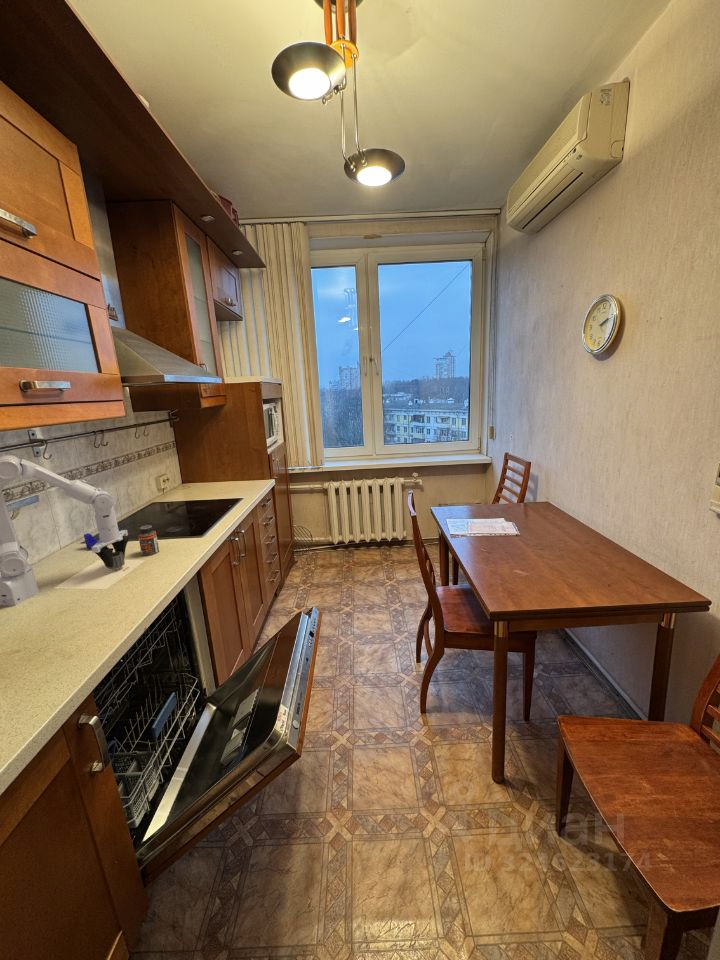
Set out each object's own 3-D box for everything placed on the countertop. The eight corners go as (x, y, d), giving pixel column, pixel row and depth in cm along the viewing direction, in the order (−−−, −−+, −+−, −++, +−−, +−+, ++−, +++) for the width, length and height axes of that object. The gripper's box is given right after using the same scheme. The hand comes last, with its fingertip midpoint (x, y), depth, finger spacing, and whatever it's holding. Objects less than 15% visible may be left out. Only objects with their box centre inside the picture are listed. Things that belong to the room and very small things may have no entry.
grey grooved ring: (117, 568, 129) (115, 558, 128) (103, 568, 129) (101, 558, 128) (128, 561, 134) (126, 551, 133) (114, 561, 134) (112, 551, 133)
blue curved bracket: (92, 550, 150) (89, 536, 148) (86, 548, 152) (83, 534, 151) (123, 539, 160) (120, 526, 159) (117, 537, 162) (114, 524, 161)
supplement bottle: (140, 559, 141) (134, 530, 138) (144, 552, 146) (139, 525, 143) (157, 556, 142) (152, 528, 139) (161, 550, 148) (156, 523, 145)
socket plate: (106, 591, 119) (103, 577, 118) (53, 590, 121) (49, 577, 119) (146, 561, 138) (143, 549, 137) (100, 561, 140) (97, 549, 139)
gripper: (102, 534, 120) (111, 573, 124) (132, 518, 134) (139, 553, 138) (82, 534, 121) (91, 572, 125) (114, 518, 135) (121, 553, 139)
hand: (115, 562), depth 131 cm, fingers closed on grey grooved ring, 5 cm apart
